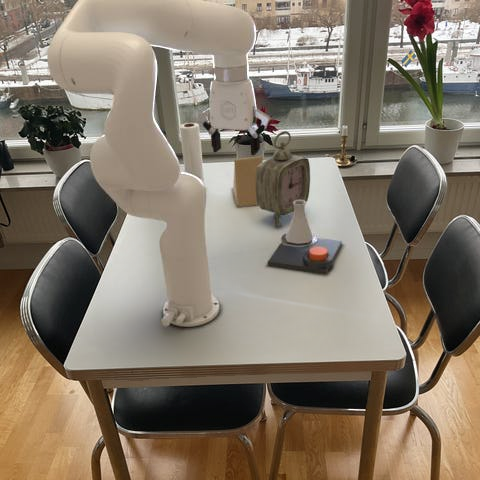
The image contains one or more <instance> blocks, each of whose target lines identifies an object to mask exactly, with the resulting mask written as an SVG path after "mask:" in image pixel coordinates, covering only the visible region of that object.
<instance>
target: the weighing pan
mask: <svg viewBox="0 0 480 480" xmlns="http://www.w3.org/2000/svg"><path fill="white" fill-rule="evenodd" d="M286 233H287V232H285V233H283V234H282V236H281V238H280V241H281V242H282V243H283V244H284V245H286V246H288V247H292V248H306V247H310V246H312V245H314V244H315V243H316V242H317V240H318V238H319V237H318V236H317V234H315V233H314V232H312V231H311V233H312V236H313V239H312V240H311V241H310V242H309V243H301V244H296V243H291V242H287V240H286V237H285V236H286ZM281 242H280V243H281Z"/></svg>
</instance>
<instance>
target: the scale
mask: <svg viewBox="0 0 480 480" xmlns="http://www.w3.org/2000/svg"><path fill="white" fill-rule="evenodd" d="M317 238H318V240H317V242H316V243H315V244H314V245H312V246H310V247H306V248H292V247H288V246H286V245H284V244H283V243H282V242H280V243H279V245H278V246H277V248H276V249H275V250H274V252H273V253H272V255H271V256H270V258H269V259H268V260H267V267H272V268H278V269H286V270H290V271H291V270H293V271H299V272H303V273H305V272H306V273H312V274H318V275H325V276H326V275H327V274H328V272H329V270H330V269H331V267H332V266H333V263H334V261H335V259H336V257H337V255H338V254H339V251H340V249H341V247H342V246H343V245H342V244H343V240H339V239H338V240H337V239H329V238H324V237H323V238H322V237H317ZM313 247H324V248H326V249H327V251H328V253H327V259H325V260H322V261H315V260H311V259H310V258H309V250H310V249H311V248H313Z"/></svg>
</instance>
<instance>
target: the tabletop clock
mask: <svg viewBox="0 0 480 480" xmlns="http://www.w3.org/2000/svg"><path fill="white" fill-rule="evenodd" d="M286 134H287V135H288V139H287V141H286V142H283V141H282V142H280V145H279V146H278V145H277V144H276V142H277V140H278V138H279V137H281V136H283V135H286ZM291 136H292V135H291V133H290V132H289V131H287V130H284V131H281V132H279V133H278V134H277V135H276V136H275V137H274V140H273V147H274V148H275V149H276V150H275V151H274V153H273V155H272V157H270V158H268V159H266V160H264V161H263V162H262V163H260V164H259V165H258V166H257V168H256V175H255V187H256V198H257V203H258V205H257V206H258V207H259V208H260V209H261V210H264V211H267V212H270V213H272V214H273V215H274V217H275V218H276V222H275V223H274V225H275V227H276V228H280V227H281V226H282V223H281V221H280V216H287V215H289V214H293V213H294V204H293V202H294V201H295V200H305V202H306V203H307V202H308V200H309V197H310V188H311V167H310V166H311V165H310V160H309V158H306V157H303V156H297V155H293V154H292V152H291V151H290V150H289V149H288V148H285V147H287V146H288V145H289V144H290V142H291V139H292V137H291Z"/></svg>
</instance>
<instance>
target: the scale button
mask: <svg viewBox="0 0 480 480" xmlns="http://www.w3.org/2000/svg"><path fill="white" fill-rule="evenodd" d="M327 253H328V251H327V249H326V248H324V247H313V248H311V249H310V250H309V258H310V259H311V260H315V261H322V260H325V259H327Z"/></svg>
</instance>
